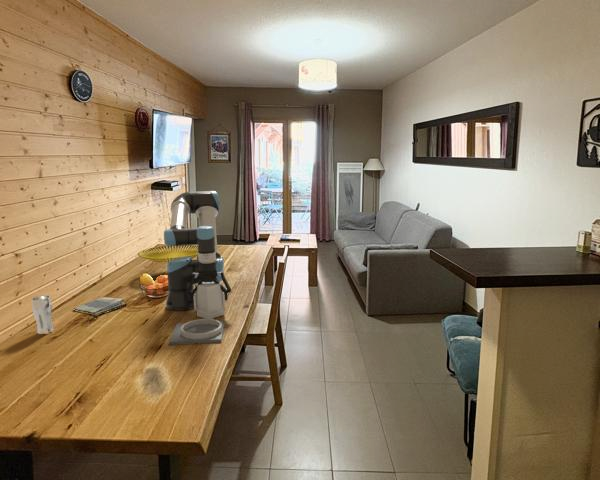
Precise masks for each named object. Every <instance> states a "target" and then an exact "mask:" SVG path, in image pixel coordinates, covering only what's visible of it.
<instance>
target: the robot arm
mask: <svg viewBox="0 0 600 480" xmlns="http://www.w3.org/2000/svg"><path fill="white" fill-rule="evenodd" d="M220 203H221V201H220V197H219V194H218V192H217V191H215V190H207V191H206V190H205V191H203V190H202V191H201V190H200V191H185V192H183V193H181V194H179V195H177V196H176V197H175V198H174V199H173V200H172V202H171V204H170V212H171V219H170V227H169V229H164V231H163V239H164V244H165V245H164V246H166V247H167V246H169V247H170V246H172V247H173V246H175V247H176V246H178V247H179V246H180V245H181V246H182V245H184V246H185V245H187V246H188V245H192V246H193V245H198V247H197V248H198V249H197V251H198V256H196V259H193V258H191V257H189V256H188V257H187V256H185V257H179V258H175V259H172V260H170V261H169V262H166V263H167V264H166V273H167V275H168V278H167V285H168V286H167V287H168V294H167V297H166V300H165V308H166V309H167V310H170V311H176V312H177V311H178V312H179V311H181V312H182V311H187V310H192V309H193V310H195V311H197V306H196V293H195V292H196V291H197V289H198V285H201V284H202V282H205V283H206V282H214V283H216V284H220V283H223V284H224V285H223V284H222V286H221V285H220V289H221V290H222V291H223V308H224V309H226V307H227V306H226V301H228V299H229V298H228V294H229V293H231V292H232V288H231V286H230V284H229V282H228V281H227V278H226V277H225V269H224V268H225V258H224V257H222V255H221V254H220V252H218V239H217V225H216V224H217V221H216V217H217V216H218V214H219V213H220V212H221V204H220ZM189 214H190V215H191V214H192V215H193V214H195V216H196V217H197V218H198V226H197V227H194V228H193V227H192V228H191V227H190V228H189V227H188V216H189ZM187 227H188V228H187ZM197 283H198V284H197ZM195 284H197V286H196V287H195Z"/></svg>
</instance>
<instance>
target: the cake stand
mask: <svg viewBox="0 0 600 480" xmlns="http://www.w3.org/2000/svg"><path fill="white" fill-rule="evenodd" d="M137 256H138V257H140V258H142V259H145V260H147V261H148V260H149V261H152V262H155V263H168V262H169V261H170V260H172V259H175V258H179V257H185V256H187V257H188V256H189V257H191V258H192V259H194V258H197V256H198V244H197V245H180V246H166V245H160V246H154V247H149V248H146V249H142V250H141V251H139V252H137ZM163 275H167V272H165V273H164V274H162V276H163Z"/></svg>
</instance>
